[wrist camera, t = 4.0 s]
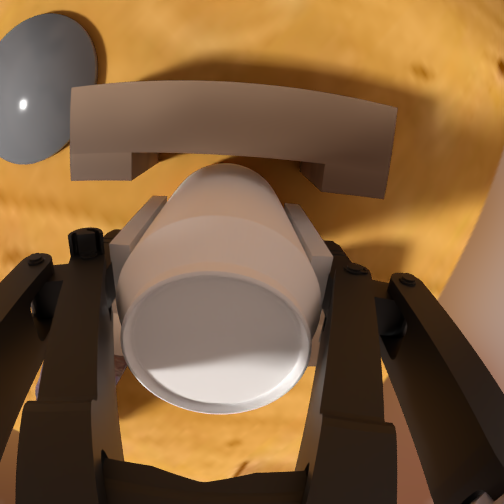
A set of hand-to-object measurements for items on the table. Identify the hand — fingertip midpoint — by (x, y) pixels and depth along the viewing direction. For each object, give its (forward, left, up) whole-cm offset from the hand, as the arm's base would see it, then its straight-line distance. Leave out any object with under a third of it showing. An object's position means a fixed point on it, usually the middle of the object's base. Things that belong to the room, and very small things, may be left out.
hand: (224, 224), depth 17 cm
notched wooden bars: (0, 0, -2) cm, 2 cm away
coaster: (-8, -13, -2) cm, 15 cm away
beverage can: (0, 0, -2) cm, 2 cm away
